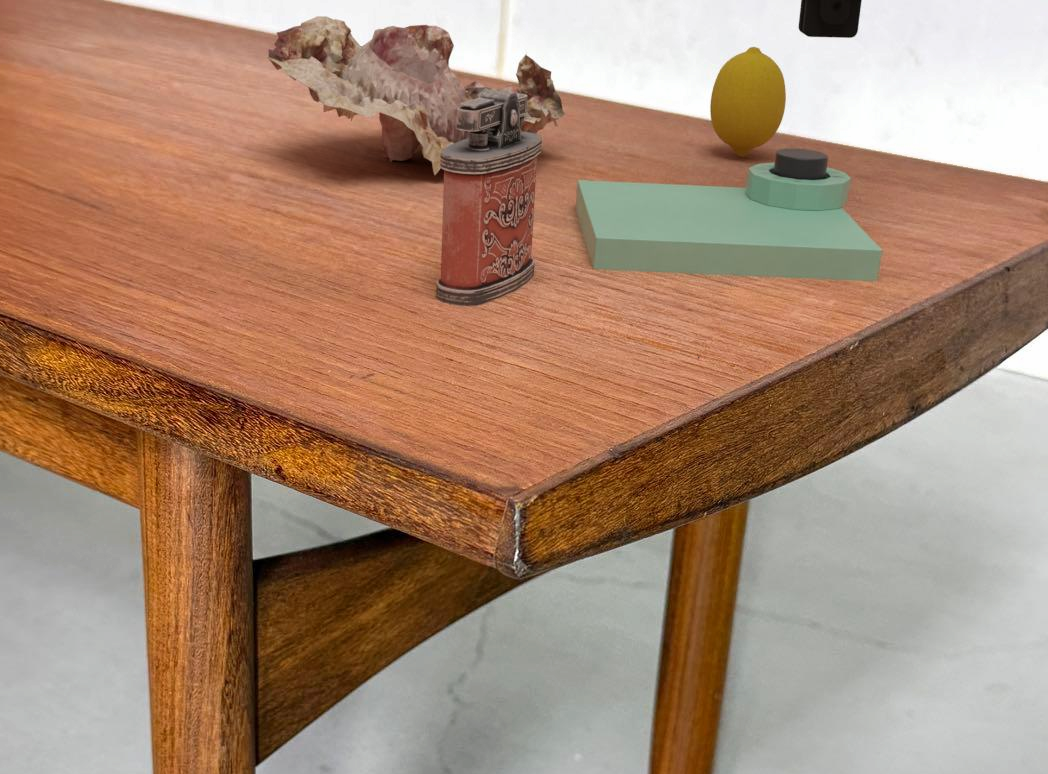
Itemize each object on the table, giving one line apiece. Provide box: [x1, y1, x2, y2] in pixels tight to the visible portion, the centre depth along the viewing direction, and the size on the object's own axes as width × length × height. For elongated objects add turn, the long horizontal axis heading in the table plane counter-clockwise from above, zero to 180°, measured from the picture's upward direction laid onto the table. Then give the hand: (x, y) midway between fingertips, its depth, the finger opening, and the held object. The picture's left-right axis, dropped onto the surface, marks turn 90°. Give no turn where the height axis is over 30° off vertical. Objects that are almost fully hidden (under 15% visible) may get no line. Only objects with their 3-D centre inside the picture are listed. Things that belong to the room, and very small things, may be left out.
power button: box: [773, 147, 829, 180], centre depth 92 cm, size 3×3×2 cm
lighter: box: [435, 89, 543, 307], centre depth 76 cm, size 8×3×10 cm, turn 154°
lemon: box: [709, 46, 787, 158], centre depth 111 cm, size 6×6×8 cm
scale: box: [575, 161, 883, 282], centre depth 89 cm, size 17×15×4 cm
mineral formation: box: [267, 15, 566, 176], centre depth 104 cm, size 23×16×10 cm
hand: (827, 34), depth 88 cm, fingers closed
